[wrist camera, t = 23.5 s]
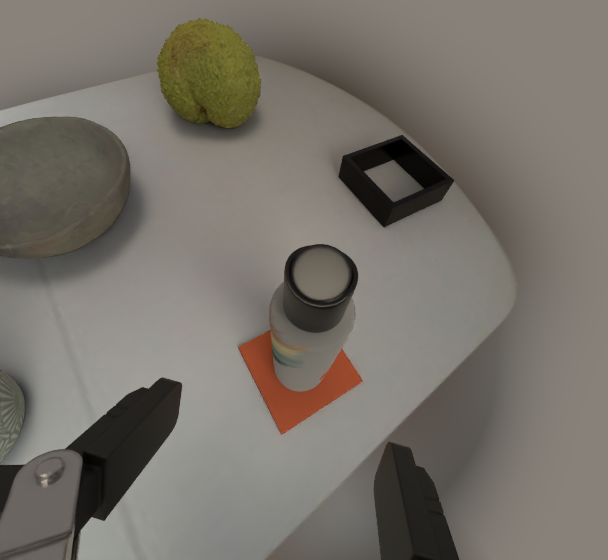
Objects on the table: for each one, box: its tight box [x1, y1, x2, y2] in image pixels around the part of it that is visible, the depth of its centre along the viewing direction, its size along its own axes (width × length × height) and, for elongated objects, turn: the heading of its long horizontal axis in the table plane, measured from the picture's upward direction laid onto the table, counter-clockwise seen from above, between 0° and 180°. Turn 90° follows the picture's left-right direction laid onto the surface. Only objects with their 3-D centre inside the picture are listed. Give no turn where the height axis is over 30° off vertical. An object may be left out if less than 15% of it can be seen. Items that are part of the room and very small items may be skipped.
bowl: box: [0, 117, 130, 259], centre depth 37 cm, size 21×21×8 cm
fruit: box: [157, 18, 261, 128], centre depth 48 cm, size 16×14×15 cm
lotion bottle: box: [270, 244, 358, 392], centre depth 23 cm, size 6×6×20 cm
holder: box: [339, 135, 454, 227], centre depth 46 cm, size 12×12×4 cm
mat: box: [238, 330, 363, 434], centre depth 32 cm, size 10×10×1 cm
